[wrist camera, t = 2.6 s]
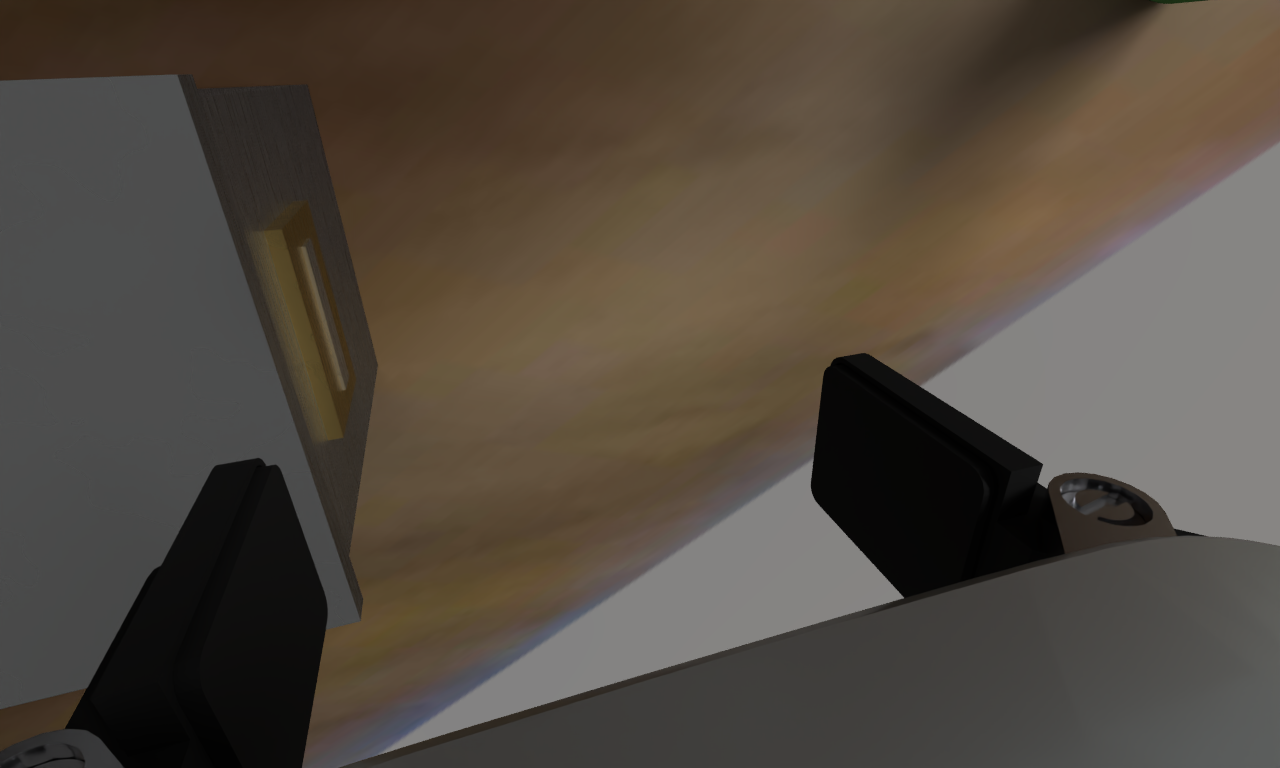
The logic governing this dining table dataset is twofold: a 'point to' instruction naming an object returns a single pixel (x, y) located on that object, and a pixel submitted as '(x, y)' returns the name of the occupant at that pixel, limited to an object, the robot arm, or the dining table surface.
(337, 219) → the metal box
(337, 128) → the dining table surface
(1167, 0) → the wine bottle
